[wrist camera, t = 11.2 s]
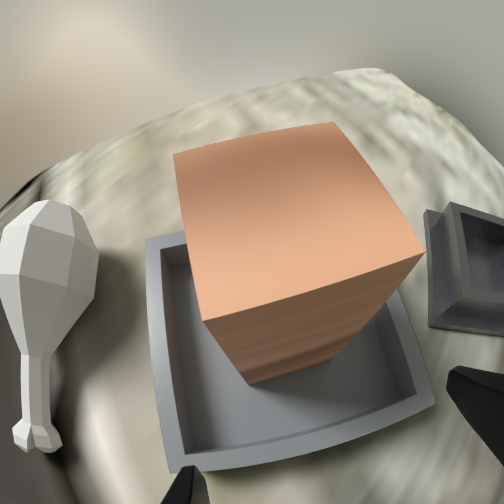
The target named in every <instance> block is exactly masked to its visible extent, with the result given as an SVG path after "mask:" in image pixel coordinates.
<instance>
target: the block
mask: <svg viewBox="0 0 504 504" xmlns="http://www.w3.org/2000/svg"><path fill="white" fill-rule="evenodd" d="M173 157H174V165H175V172H176V179H177V186H178V193H179V199H180V206H181V212H182V218H183V224H184V230H185V236H186V242H187V247H188V253H189V258H190V263H191V269H192V274H193V279H194V284H195V289H196V294H197V298H198V303H199V308H200V313H201V317H202V321H203V323H204V324H205V326H206V327H207V329H208V330H209V331H210V333H211V334H212V336H213V337H214V339H215V340H216V342H217V343H218V344H219V346H220V347H221V349H222V350H223V351H224V353H225V354H226V356H227V357H228V358H229V360H230V361H231V363H232V364H233V365H234V367H235V368H236V369H237V371H238V372H239V373H240V375H241V376H242V378H243V379H244V380H245V382H246V383H247V384H248V385H253V384H257V383H260V382H264V381H267V380H271V379H274V378H278V377H281V376H284V375H288V374H291V373H294V372H297V371H300V370H303V369H306V368H309V367H312V366H315V365H318V364H321V363H324V362H327V361H329V360H332V359H333V358H334V357H335V356H336V355H337V354H338V353H339V352H340V351H341V350H342V349H343V348H344V347H345V346H346V345H347V344H348V343H349V342H350V341H351V339H352V338H353V337H354V336H355V335H356V334H357V333H358V332H359V331H360V330H361V329H362V328H363V327H364V326H365V325H366V323H367V322H368V321H369V320H370V319H371V318H372V317H373V316H374V315H375V313H376V312H377V311H378V310H379V309H380V308H381V307H382V305H383V304H384V303H385V302H386V301H387V300H388V298H389V297H390V296H391V295H392V294H393V292H394V291H395V290H396V289H397V288H398V286H399V285H400V284H401V283H402V281H403V280H404V279H405V278H406V276H407V275H408V274H409V273H410V271H411V270H412V269H413V268H414V266H415V265H416V264H417V262H418V261H419V260H420V258H421V257H422V256H423V254H424V253H425V252H426V251H425V250H424V248H423V246H422V244H421V243H420V241H419V239H418V238H417V236H416V234H415V233H414V231H413V230H412V228H411V226H410V225H409V223H408V222H407V220H406V218H405V217H404V215H403V214H402V212H401V211H400V209H399V208H398V206H397V205H396V203H395V202H394V200H393V199H392V197H391V196H390V194H389V193H388V191H387V190H386V188H385V187H384V186H383V184H382V183H381V181H380V180H379V179H378V177H377V176H376V174H375V173H374V172H373V170H372V169H371V168H370V166H369V165H368V164H367V162H366V161H365V160H364V158H363V157H362V156H361V155H360V153H359V152H358V151H357V149H356V148H355V147H354V146H353V144H352V143H351V142H350V141H349V139H348V138H347V137H346V136H345V135H344V133H343V132H342V131H341V130H340V129H339V127H338V126H337V125H336V124H335V123H334V122H328V123H320V124H313V125H306V126H300V127H294V128H288V129H282V130H276V131H271V132H265V133H260V134H255V135H250V136H245V137H241V138H236V139H232V140H227V141H223V142H219V143H214V144H210V145H206V146H202V147H198V148H195V149H191V150H187V151H183V152H180V153H176V154H173Z"/></svg>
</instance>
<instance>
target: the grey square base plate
mask: <svg viewBox="0 0 504 504" xmlns="http://www.w3.org/2000/svg"><path fill="white" fill-rule="evenodd" d="M423 217H424V226H425V236H426V249H427V265H428V327H434V328H441V329H448V330H456V331H463V332H471V333H478V334H487V335H495V336H504V219H502V218H499V217H496V216H493V215H490V214H488V213H485V212H482V211H479V210H475V209H472V208H469V207H466V206H463V205H460V204H456V203H453V202H449V204H448V205H447V207H446V209H445V210H444V212H443V213H439V212H435V211H432V210H428V209H426V211H425V213H424V215H423Z"/></svg>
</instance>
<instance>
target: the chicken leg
mask: <svg viewBox="0 0 504 504" xmlns="http://www.w3.org/2000/svg"><path fill="white" fill-rule="evenodd" d="M98 260H99V252H98V250H97V248H96V246H95V244H94V242H93V240H92V237H91V235H90V233H89V231H88V229H87V227H86V224H85V222H84V220H83V217H82V216H81V215H80V214H79V213H78V212H76V211H75V210H74V209H73V208H72V207H71V206H68V205H65V204H62V203H59V202H56V201H53V200H44V201H39V202H35V203H34V204H33V205H31V206H30V207H29V208H27V209H26V210H25V211H24V212H22V213H21V214H20V215H19V216H18V217H16V218H15V219H14V220H13V221H12V222H10V223H9V224H8V225H7V226H6V227H5V228H4V231H3V234H2V238H1V242H0V298H1V301H2V304H3V307H4V310H5V313H6V316H7V319H8V321H9V324H10V327H11V329H12V332H13V335H14V337H15V340H16V342H17V344H18V347H19V349H20V352H21V398H22V414H23V418H22V419H21V420H20V421H19V422H18V423H17V424H16V425H15V426H14V427H13V428H12V429H13V436H14V441H15V444H17V445H18V446H19V447H20V448H21V449H22V450H23V451H25V452H27V453H28V452H29V451H30V450H32V449H33V448H35V447H37V448H38V449H40V450H41V451H42V452H47V453H51V452H55V451H56V450H57V449H59V448H60V447H61V446H62V442H61V439H60V436H59V433H58V431H57V429H56V428H55V427H54V426H53V425H52V424H51V416H50V395H49V361H50V358H51V356H52V355H53V353H54V352H55V350H56V349H57V347H58V346H59V345H60V343H61V342H62V340H63V339H64V337H65V336H66V335H67V333H68V332H69V331H70V329H71V328H72V326H73V325H74V324H75V322H76V321H77V320H78V318H79V317H80V316H81V314H82V313H83V312H84V310H85V309H86V308H87V307H88V305H89V304H90V303H91V301H92V300H93V299H94V293H95V284H96V275H97V268H98Z"/></svg>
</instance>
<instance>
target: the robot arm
mask: <svg viewBox="0 0 504 504" xmlns="http://www.w3.org/2000/svg"><path fill="white" fill-rule="evenodd" d="M446 389H447V392H448V394H449V395H450V397H451V398H452V400H453V401H454V403H455V404H456V406H457V407H458V409H459V410H460V412H461V413H462V415H463V416H464V418H465V419H466V420H467V422H468V423H469V424H470V425H471V427H472V428H473V429H474V430H475V431H476V433H477V434H478V435H479V436H480V438H481V439H482V440H483V441H484V442H485V444H486V445H487V446H488V447H489V449H490V450H491V451H492V452H493V454H494V455H495V456H496V457H497V459H498V460H499V461H500V462H501V464H502V465H503V466H504V374H499V373H494V372H489V371H483V370H478V369H473V368H468V367H464V366H456V367H455V368H453V369H452V370H450V372H449V374H448V380H447V385H446ZM161 504H210V501H209V496H208V491H207V485H206V481H205V478H204V477H203V475H202V474H201V472H200V471H199V470H198V468H197V467H196V466H195V465H189V466H183V467H182V468H181V469H180V471H179V473H178V475H177V476H176V478H175V480H174V482H173V483H172V485H171V487H170V489H169V490H168V492H167V494H166V495H165V497H164V499H163V501H162V502H161Z"/></svg>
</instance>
